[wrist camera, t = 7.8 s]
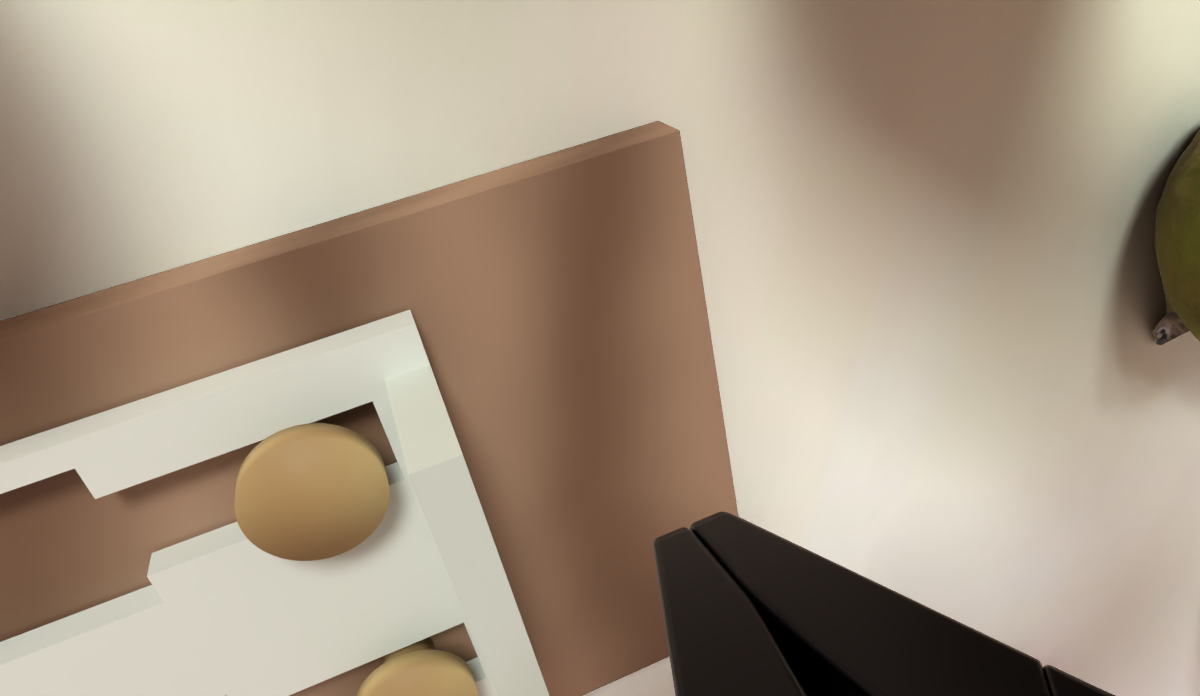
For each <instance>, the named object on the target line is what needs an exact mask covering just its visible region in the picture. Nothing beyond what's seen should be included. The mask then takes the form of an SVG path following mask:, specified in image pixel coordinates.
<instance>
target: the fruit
mask: <svg viewBox="0 0 1200 696" xmlns="http://www.w3.org/2000/svg"><path fill="white" fill-rule="evenodd" d="M1154 248H1155V252H1156V257H1157V261H1158V265H1159V270H1160V274H1161V278H1162V283H1163V287H1164V293H1165V298H1166V306H1167V313H1166V314H1165V316H1164V317H1163V318H1162V319H1161V320H1160V321H1159V322H1158V323H1157V325H1156V326H1155V328H1154V329H1153V331H1152V332H1153V336H1154V338H1155V341H1156V344H1158V345H1162V344H1164V343H1166V342H1168V341H1170V340H1172V339H1174V338H1176V337H1178V336H1180V335H1182V334H1184V333H1186V332H1188V331H1191V333H1192V334H1193V335H1194V336H1195V337H1196V338H1197V339H1198V340H1199V341H1200V129H1199V130H1198V132H1197V133H1196V135H1195V137H1194V138H1193V140H1192V141H1191V143H1190V144H1189V145H1188V147H1187V148H1186V149H1185V151H1184V152H1183V153H1182V154H1181V156H1180V157H1179V159H1178V160H1177V162H1176V164H1175V166H1174V168H1173V169H1172V171H1171V173H1170V175H1169V177H1168V180H1167V183H1166V185H1165V188H1164V191H1163V193H1162V196H1161V198H1160V201H1159V203H1158V205H1157V209H1156V227H1155V245H1154ZM1159 333H1162V334H1163V335H1162V337H1161V338H1160V339H1158V340H1157V338H1156V336H1157V335H1158V334H1159Z"/></svg>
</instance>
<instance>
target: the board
mask: <svg viewBox="0 0 1200 696" xmlns="http://www.w3.org/2000/svg"><path fill="white" fill-rule="evenodd" d="M407 310H410V311H411V313H412V316H413V319H414V322H415V324H416V327H417V330H418V333H419V335H420V338H421V341H422V344H423V347H424V349H425V352H426V355H427V358H428V360H429V363H430V366H431V369H432V371H433V374H434V377H435V380H436V382H437V385H438V388H439V391H440V393H441V396H442V399H443V402H444V404H445V407H446V410H447V413H448V415H449V418H450V421H451V424H452V426H453V429H454V432H455V435H456V437H457V440H458V443H459V446H460V448H461V451H462V454H463V457H464V459H465V462H466V465H467V468H468V471H469V473H470V476H471V479H472V482H473V484H474V487H475V490H476V493H477V496H478V498H479V501H480V504H481V507H482V509H483V512H484V515H485V518H486V521H487V523H488V526H489V529H490V532H491V535H492V537H493V540H494V543H495V546H496V548H497V551H498V554H499V557H500V560H501V562H502V565H503V568H504V571H505V573H506V576H507V579H508V582H509V585H510V587H511V590H512V593H513V596H514V599H515V601H516V604H517V607H518V610H519V612H520V615H521V618H522V621H523V624H524V626H525V629H526V632H527V635H528V637H529V640H530V643H531V646H532V649H533V651H534V654H535V657H536V660H537V663H538V665H539V668H540V671H541V674H542V676H543V679H544V682H545V685H546V688H547V690H548V693H549V696H582V695H584V694H587V693H589V692H591V691H593V690H595V689H598V688H600V687H602V686H604V685H607V684H609V683H611V682H613V681H615V680H618V679H620V678H622V677H624V676H627V675H629V674H631V673H633V672H635V671H638V670H640V669H642V668H644V667H647V666H649V665H651V664H653V663H655V662H658V661H660V660H662V659H664V658H667V657H669V656H670V655H669V648H668V641H667V635H666V628H665V621H664V615H663V608H662V601H661V595H660V588H659V581H658V574H657V568H656V561H655V554H654V547H653V543H654V540H655V539H656V538H658V537H660V536H662V535H665V534H667V533H670V532H672V531H674V530H677V529H679V528H682V527H687V528H689V529H690V527H691V525H692V524H693V523H694V522H696V521H698V520H701V519H703V518H706V517H708V516H710V515H713V514H715V513H718V512H721V511H724V512H729V513H731V514H734V515H736V516H738V511H737V504H736V498H735V491H734V485H733V478H732V472H731V465H730V458H729V452H728V445H727V439H726V432H725V426H724V419H723V413H722V406H721V399H720V393H719V386H718V380H717V373H716V367H715V360H714V354H713V347H712V341H711V334H710V327H709V321H708V314H707V308H706V301H705V295H704V288H703V282H702V275H701V268H700V262H699V255H698V249H697V242H696V236H695V229H694V223H693V216H692V209H691V203H690V196H689V190H688V183H687V177H686V170H685V164H684V157H683V150H682V144H681V137H680V131H679V130H677V129H675V128H673V127H671V126H668V125H666V124H664V123H662V122H660V121H656V122H653V123H649V124H646V125H643V126H640V127H636V128H633V129H630V130H626V131H623V132H620V133H617V134H613V135H610V136H607V137H604V138H600V139H597V140H594V141H590V142H587V143H584V144H581V145H577V146H574V147H571V148H567V149H564V150H561V151H558V152H554V153H551V154H548V155H545V156H541V157H538V158H535V159H531V160H528V161H525V162H522V163H518V164H515V165H512V166H509V167H505V168H502V169H499V170H495V171H492V172H489V173H486V174H482V175H479V176H476V177H472V178H469V179H466V180H463V181H459V182H456V183H453V184H450V185H446V186H443V187H440V188H436V189H433V190H430V191H427V192H423V193H420V194H417V195H414V196H410V197H407V198H404V199H400V200H397V201H394V202H391V203H387V204H384V205H381V206H377V207H374V208H371V209H368V210H364V211H361V212H358V213H355V214H351V215H348V216H345V217H341V218H338V219H335V220H332V221H328V222H325V223H322V224H318V225H315V226H312V227H309V228H305V229H302V230H299V231H296V232H292V233H289V234H286V235H282V236H279V237H276V238H273V239H269V240H266V241H263V242H260V243H256V244H253V245H250V246H246V247H243V248H240V249H237V250H233V251H230V252H227V253H223V254H220V255H217V256H214V257H210V258H207V259H204V260H201V261H197V262H194V263H191V264H187V265H184V266H181V267H178V268H174V269H171V270H168V271H165V272H161V273H158V274H155V275H151V276H148V277H145V278H142V279H138V280H135V281H132V282H128V283H125V284H122V285H119V286H115V287H112V288H109V289H106V290H102V291H99V292H96V293H92V294H89V295H86V296H83V297H79V298H76V299H73V300H69V301H66V302H63V303H60V304H56V305H53V306H50V307H47V308H43V309H40V310H37V311H33V312H30V313H27V314H24V315H20V316H17V317H14V318H11V319H7V320H4V321H1V322H0V446H2V445H5V444H8V443H11V442H14V441H17V440H20V439H23V438H26V437H29V436H32V435H35V434H38V433H41V432H44V431H47V430H50V429H53V428H56V427H59V426H62V425H65V424H68V423H71V422H74V421H77V420H80V419H83V418H86V417H89V416H92V415H95V414H98V413H101V412H104V411H107V410H110V409H113V408H116V407H119V406H122V405H125V404H128V403H131V402H134V401H137V400H140V399H143V398H146V397H149V396H152V395H155V394H158V393H161V392H164V391H167V390H170V389H173V388H176V387H179V386H182V385H185V384H188V383H191V382H194V381H197V380H200V379H203V378H206V377H209V376H212V375H215V374H218V373H221V372H224V371H227V370H230V369H233V368H236V367H239V366H242V365H245V364H248V363H251V362H254V361H257V360H260V359H263V358H266V357H269V356H272V355H275V354H278V353H281V352H284V351H287V350H290V349H293V348H296V347H299V346H302V345H305V344H308V343H311V342H314V341H317V340H320V339H323V338H326V337H329V336H332V335H335V334H338V333H341V332H344V331H347V330H350V329H353V328H356V327H359V326H362V325H365V324H368V323H371V322H374V321H377V320H380V319H383V318H386V317H389V316H392V315H395V314H398V313H401V312H404V311H407ZM396 462H397V459H396V457H395V455H394V452H393V450H392V447H391V445H390V442H389V440H388V438H387V435H386V433H385V430H384V428H383V425H382V423H381V421H380V418H379V416H378V413H377V411H376V408H375V406H374V404H373V401H372V402H369V403H366V404H363V405H360V406H358V407H355V408H352V409H349V410H346V411H343V412H341V413H338V414H335V415H332V416H329V417H326V418H324V419H321V420H318V421H315V422H312V423H309V424H302V425H296V426H293V427H289V428H286V429H283V430H281V431H279V432H276V433H274V434H273V435H271V436H269V437H267V438H266V439H264V440H261V441H258V442H256V443H253V444H250V445H247V446H244V447H242V448H239V449H236V450H233V451H230V452H227V453H225V454H222V455H219V456H216V457H213V458H210V459H208V460H205V461H202V462H199V463H196V464H193V465H191V466H188V467H185V468H182V469H179V470H176V471H174V472H171V473H168V474H165V475H162V476H159V477H157V478H154V479H151V480H148V481H145V482H143V483H140V484H137V485H134V486H131V487H128V488H126V489H123V490H120V491H117V492H114V493H111V494H109V495H106V496H103V497H100V498H97V499H95V498H94V497H93V495H92V494H91V492H90V491H89V489H88V488H87V486H86V485H85V483H84V482H83V480H82V479H81V477H80V476H79V474H78V473H77V471H76V470H75V469H72V470H69V471H66V472H63V473H60V474H57V475H54V476H51V477H48V478H46V479H43V480H40V481H37V482H34V483H31V484H28V485H25V486H22V487H19V488H17V489H14V490H11V491H8V492H5V493H2V494H0V642H2V641H4V640H7V639H10V638H12V637H15V636H18V635H20V634H23V633H25V632H28V631H31V630H33V629H36V628H39V627H41V626H44V625H47V624H49V623H52V622H55V621H57V620H60V619H62V618H65V617H68V616H70V615H73V614H76V613H78V612H81V611H84V610H86V609H89V608H92V607H94V606H97V605H99V604H102V603H105V602H107V601H110V600H113V599H115V598H118V597H121V596H123V595H126V594H129V593H131V592H134V591H136V590H139V589H142V588H144V587H147V586H150V585H152V584H151V582H150V581H149V579H148V578H147V574H148V569H149V564H150V559H151V554H152V553H153V552H156V551H159V550H161V549H164V548H167V547H170V546H172V545H175V544H178V543H180V542H183V541H186V540H188V539H191V538H194V537H196V536H199V535H202V534H205V533H207V532H210V531H213V530H215V529H218V528H221V527H223V526H226V525H229V524H232V523H234V522H237V523H238V525H239V527H240V529H241V531H242V532H243V533H244V535H245V536H246V537H247V538H248V540H249V541H250V542H251V543H253V544H254V545H255V546H256V547H258V548H259V549H261V550H263V551H264V552H266V553H269V554H271V555H273V556H276V557H279V558H283V559H288V560H295V561H314V560H322V559H326V558H330V557H334V556H337V555H340V554H342V553H344V552H347V551H349V550H351V549H352V548H354V547H356V546H358V545H359V544H360V543H362V542H363V541H364V540H366V539H367V538H368V537H369V536H370V535H371V534H372V533H373V532H374V531H375V530H376V528H377V527H378V526H379V524H380V523H381V521H382V519H383V517H384V515H385V513H386V510H387V507H388V503H389V484H388V479H387V474H386V469H385V466H388V465H391V464H393V463H396ZM477 657H478V656H477V653H476V651H475V649H474V646H473V644H472V641H471V639H470V636H469V634H468V632H467V629H466V627H465V624H464V623H461V624H459V625H456V626H454V627H452V628H449V629H447V630H445V631H442V632H440V633H437V634H435V635H433V636H430V637H428V638H425V639H423V640H421V641H418V642H416V643H413V644H411V645H409V646H406V647H404V648H402V649H399V650H397V651H394V652H392V653H390V654H387V655H385V656H382V657H380V658H378V659H375V660H373V661H370V662H368V663H366V664H363V665H361V666H358V667H356V668H354V669H351V670H349V671H347V672H344V673H342V674H339V675H337V676H335V677H332V678H330V679H327V680H325V681H323V682H320V683H318V684H315V685H313V686H311V687H308V688H306V689H303V690H301V691H299V692H296V693H294V694H292V695H289V696H479V694H478V690H477V686H476V683H475V679H474V675H473V672H472V670H471V668H470V666H469V665H468V664H467V663H466V662H467V661H470V660H472V659H474V658H477ZM225 696H226V695H225Z"/></svg>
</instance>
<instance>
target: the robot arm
mask: <svg viewBox="0 0 1200 696" xmlns="http://www.w3.org/2000/svg"><path fill="white" fill-rule="evenodd" d="M653 547H654V554H655V561H656V568H657V574H658V581H659V588H660V595H661V601H662V608H663V615H664V621H665V628H666V635H667V641H668V648H669V655H670V661H671V668H672V675H673V681H674V688H675V695H676V696H1115V695H1113V694H1110V693H1108V692H1106V691H1104V690H1102V689H1099V688H1097V687H1095V686H1093V685H1090V684H1088V683H1086V682H1084V681H1082V680H1080V679H1078V678H1076V677H1074V676H1072V675H1070V674H1067V673H1065V672H1063V671H1061V670H1059V669H1057V668H1055V667H1053V666H1051V665H1046V666H1044V667H1042V664H1041V663H1040V661H1039V660H1037V659H1035V658H1033V657H1031V656H1029V655H1027V654H1025V653H1023V652H1021V651H1019V650H1016V649H1014V648H1012V647H1010V646H1008V645H1006V644H1004V643H1002V642H1000V641H998V640H995V639H993V638H991V637H989V636H987V635H985V634H983V633H981V632H979V631H977V630H975V629H972V628H970V627H968V626H966V625H964V624H962V623H960V622H958V621H956V620H954V619H951V618H949V617H947V616H945V615H943V614H941V613H939V612H937V611H935V610H933V609H931V608H928V607H926V606H924V605H922V604H920V603H918V602H916V601H914V600H912V599H910V598H907V597H905V596H903V595H901V594H899V593H897V592H895V591H893V590H891V589H889V588H887V587H884V586H882V585H880V584H878V583H876V582H874V581H872V580H870V579H868V578H866V577H863V576H861V575H859V574H857V573H855V572H853V571H851V570H849V569H847V568H845V567H843V566H840V565H838V564H836V563H834V562H832V561H830V560H828V559H826V558H824V557H822V556H819V555H817V554H815V553H813V552H811V551H809V550H807V549H805V548H803V547H801V546H799V545H796V544H794V543H792V542H790V541H788V540H786V539H784V538H782V537H780V536H778V535H775V534H773V533H771V532H769V531H767V530H765V529H763V528H761V527H759V526H757V525H755V524H752V523H750V522H748V521H746V520H744V519H742V518H740V517H738V516H736V515H734V514H731V513H729V512H724V511H721V512H718V513H715V514H713V515H710V516H708V517H706V518H703V519H701V520H698V521H696V522H694V523H693V524H692V525H691V527H690V529H689V528H687V527H682V528H679V529H677V530H674V531H672V532H670V533H667V534H665V535H662V536H660V537H658V538H656V539H655V540H654V543H653Z"/></svg>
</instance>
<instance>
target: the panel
mask: <svg viewBox="0 0 1200 696" xmlns="http://www.w3.org/2000/svg"><path fill="white" fill-rule="evenodd" d="M372 401H373V404H374V406H375V408H376V411H377V413H378V416H379V418H380V421H381V423H382V425H383V428H384V430H385V433H386V435H387V438H388V440H389V442H390V445H391V447H392V450H393V452H394V455H395V457H396V459H397V462H396V463H393V464H391V465H388V466H385V469H386V474H387V479H388V484H389V503H388V507H387V510H386V513H385V515H384V517H383V519H382V521H381V523H380V524H379V526H378V527H377V528H376V530H375V531H374V532H373V533H372V534H371V535H370V536H369V537H368V538H367V539H366V540H364V541H363V542H362V543H360V544H359V545H358V546H356V547H354V548H352V549H351V550H349V551H347V552H344V553H342V554H340V555H337V556H334V557H330V558H326V559H322V560H314V561H295V560H288V559H283V558H279V557H276V556H273V555H271V554H269V553H266V552H264V551H263V550H261V549H259V548H258V547H256V546H255V545H254V544H253V543H251V542H250V541H249V540H248V538H247V537H246V536H245V535H244V533H243V532H242V531H241V529H240V527H239V525H238V523H237V522H234V523H232V524H229V525H226V526H223V527H221V528H218V529H215V530H213V531H210V532H207V533H205V534H202V535H199V536H196V537H194V538H191V539H188V540H186V541H183V542H180V543H178V544H175V545H172V546H170V547H167V548H164V549H161V550H159V551H156V552H153V553H152V554H151V559H150V564H149V569H148V574H147V578H148V579H149V581H150V582H151V584H152V585H150V586H147V587H144V588H142V589H139V590H136V591H134V592H131V593H129V594H126V595H123V596H121V597H118V598H115V599H113V600H110V601H107V602H105V603H102V604H99V605H97V606H94V607H92V608H89V609H86V610H84V611H81V612H78V613H76V614H73V615H70V616H68V617H65V618H62V619H60V620H57V621H55V622H52V623H49V624H47V625H44V626H41V627H39V628H36V629H33V630H31V631H28V632H25V633H23V634H20V635H18V636H15V637H12V638H10V639H7V640H4V641H2V642H0V696H225V695H226V696H289V695H292V694H294V693H296V692H299V691H301V690H303V689H306V688H308V687H311V686H313V685H315V684H318V683H320V682H323V681H325V680H327V679H330V678H332V677H335V676H337V675H339V674H342V673H344V672H347V671H349V670H351V669H354V668H356V667H358V666H361V665H363V664H366V663H368V662H370V661H373V660H375V659H378V658H380V657H382V656H385V655H387V654H390V653H392V652H394V651H397V650H399V649H402V648H404V647H406V646H409V645H411V644H413V643H416V642H418V641H421V640H423V639H425V638H428V637H430V636H433V635H435V634H437V633H440V632H442V631H445V630H447V629H449V628H452V627H454V626H456V625H459V624H461V623H464V624H465V627H466V629H467V632H468V634H469V636H470V639H471V641H472V644H473V646H474V649H475V651H476V653H477V656H478V657H477V658H474V659H472V660H470V661H467V662H466V663H467V664H468V665H469V666H470V668H471V670H472V672H473V675H474V679H475V683H476V686H477V690H478V694H479V696H549V693H548V690H547V688H546V685H545V682H544V679H543V676H542V674H541V671H540V668H539V665H538V663H537V660H536V657H535V654H534V651H533V649H532V646H531V643H530V640H529V637H528V635H527V632H526V629H525V626H524V624H523V621H522V618H521V615H520V612H519V610H518V607H517V604H516V601H515V599H514V596H513V593H512V590H511V587H510V585H509V582H508V579H507V576H506V573H505V571H504V568H503V565H502V562H501V560H500V557H499V554H498V551H497V548H496V546H495V543H494V540H493V537H492V535H491V532H490V529H489V526H488V523H487V521H486V518H485V515H484V512H483V509H482V507H481V504H480V501H479V498H478V496H477V493H476V490H475V487H474V484H473V482H472V479H471V476H470V473H469V471H468V468H467V465H466V462H465V459H464V457H463V454H462V451H461V448H460V446H459V443H458V440H457V437H456V435H455V432H454V429H453V426H452V424H451V421H450V418H449V415H448V413H447V410H446V407H445V404H444V402H443V399H442V396H441V393H440V391H439V388H438V385H437V382H436V380H435V377H434V374H433V371H432V369H431V366H430V363H429V360H428V358H427V355H426V352H425V349H424V347H423V344H422V341H421V338H420V335H419V333H418V330H417V327H416V324H415V322H414V319H413V316H412V313H411V311H410V310H407V311H404V312H401V313H398V314H395V315H392V316H389V317H386V318H383V319H380V320H377V321H374V322H371V323H368V324H365V325H362V326H359V327H356V328H353V329H350V330H347V331H344V332H341V333H338V334H335V335H332V336H329V337H326V338H323V339H320V340H317V341H314V342H311V343H308V344H305V345H302V346H299V347H296V348H293V349H290V350H287V351H284V352H281V353H278V354H275V355H272V356H269V357H266V358H263V359H260V360H257V361H254V362H251V363H248V364H245V365H242V366H239V367H236V368H233V369H230V370H227V371H224V372H221V373H218V374H215V375H212V376H209V377H206V378H203V379H200V380H197V381H194V382H191V383H188V384H185V385H182V386H179V387H176V388H173V389H170V390H167V391H164V392H161V393H158V394H155V395H152V396H149V397H146V398H143V399H140V400H137V401H134V402H131V403H128V404H125V405H122V406H119V407H116V408H113V409H110V410H107V411H104V412H101V413H98V414H95V415H92V416H89V417H86V418H83V419H80V420H77V421H74V422H71V423H68V424H65V425H62V426H59V427H56V428H53V429H50V430H47V431H44V432H41V433H38V434H35V435H32V436H29V437H26V438H23V439H20V440H17V441H14V442H11V443H8V444H5V445H2V446H0V494H2V493H5V492H8V491H11V490H14V489H17V488H19V487H22V486H25V485H28V484H31V483H34V482H37V481H40V480H43V479H46V478H48V477H51V476H54V475H57V474H60V473H63V472H66V471H69V470H72V469H75V470H76V471H77V473H78V474H79V476H80V477H81V479H82V480H83V482H84V483H85V485H86V486H87V488H88V489H89V491H90V492H91V494H92V495H93V497H94V498H95V499H97V498H100V497H103V496H106V495H109V494H111V493H114V492H117V491H120V490H123V489H126V488H128V487H131V486H134V485H137V484H140V483H143V482H145V481H148V480H151V479H154V478H157V477H159V476H162V475H165V474H168V473H171V472H174V471H176V470H179V469H182V468H185V467H188V466H191V465H193V464H196V463H199V462H202V461H205V460H208V459H210V458H213V457H216V456H219V455H222V454H225V453H227V452H230V451H233V450H236V449H239V448H242V447H244V446H247V445H250V444H253V443H256V442H258V441H261V440H264V439H266V438H267V437H269V436H271V435H273V434H274V433H276V432H279V431H281V430H283V429H286V428H289V427H293V426H296V425H302V424H309V423H312V422H315V421H318V420H321V419H324V418H326V417H329V416H332V415H335V414H338V413H341V412H343V411H346V410H349V409H352V408H355V407H358V406H360V405H363V404H366V403H369V402H372Z"/></svg>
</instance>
